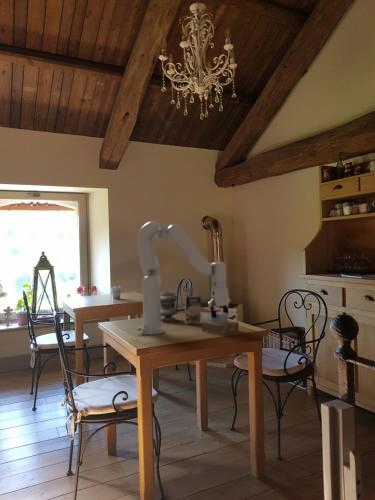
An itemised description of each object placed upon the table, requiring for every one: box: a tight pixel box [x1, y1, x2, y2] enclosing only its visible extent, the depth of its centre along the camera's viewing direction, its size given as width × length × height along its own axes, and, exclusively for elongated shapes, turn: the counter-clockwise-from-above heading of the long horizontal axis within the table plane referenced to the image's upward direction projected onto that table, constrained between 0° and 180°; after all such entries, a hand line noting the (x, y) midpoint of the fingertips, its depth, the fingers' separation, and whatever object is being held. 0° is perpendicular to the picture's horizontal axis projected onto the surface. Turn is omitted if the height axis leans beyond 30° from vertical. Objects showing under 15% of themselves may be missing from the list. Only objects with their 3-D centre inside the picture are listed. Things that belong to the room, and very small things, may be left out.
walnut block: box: [201, 320, 240, 336], centre depth 209 cm, size 14×14×5 cm
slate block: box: [212, 311, 229, 324], centre depth 209 cm, size 6×6×5 cm
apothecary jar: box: [160, 290, 178, 322], centre depth 242 cm, size 12×12×18 cm
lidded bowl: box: [200, 306, 222, 323], centre depth 227 cm, size 13×13×11 cm
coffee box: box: [184, 295, 202, 325], centre depth 230 cm, size 9×6×16 cm
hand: (219, 316), depth 209 cm, fingers open, 9 cm apart
